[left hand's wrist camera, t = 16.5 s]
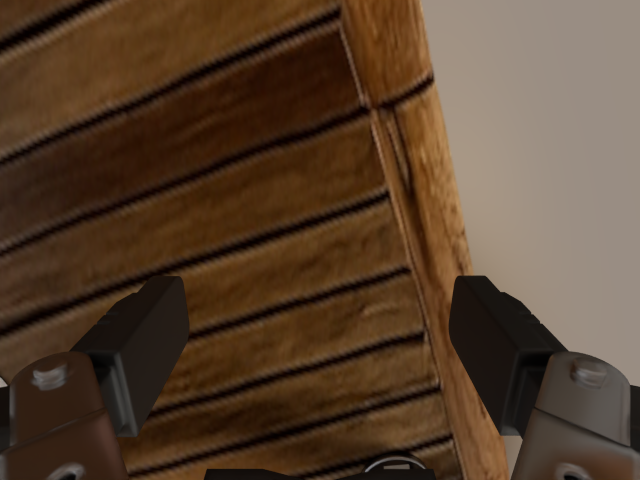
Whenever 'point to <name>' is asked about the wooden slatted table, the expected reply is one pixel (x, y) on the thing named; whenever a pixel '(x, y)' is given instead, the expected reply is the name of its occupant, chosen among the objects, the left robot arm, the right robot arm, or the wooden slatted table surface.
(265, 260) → the wooden slatted table surface
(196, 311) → the wooden slatted table surface
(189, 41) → the wooden slatted table surface
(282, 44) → the wooden slatted table surface
